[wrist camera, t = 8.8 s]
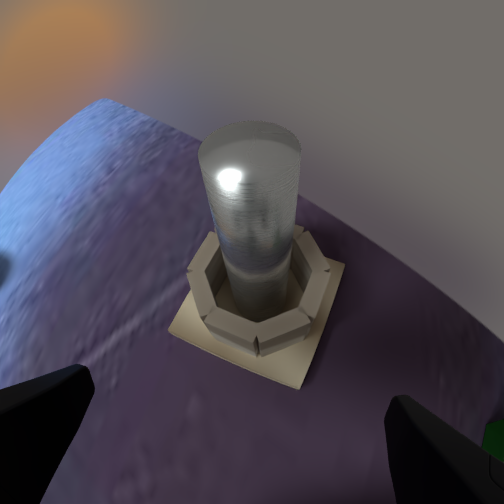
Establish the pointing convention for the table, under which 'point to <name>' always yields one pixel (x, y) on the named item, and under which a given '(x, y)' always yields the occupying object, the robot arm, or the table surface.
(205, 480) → the table surface
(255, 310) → the grey glossy cylinder
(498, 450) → the milk carton
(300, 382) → the cup bracket
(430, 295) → the table surface
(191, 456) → the table surface
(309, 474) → the table surface
